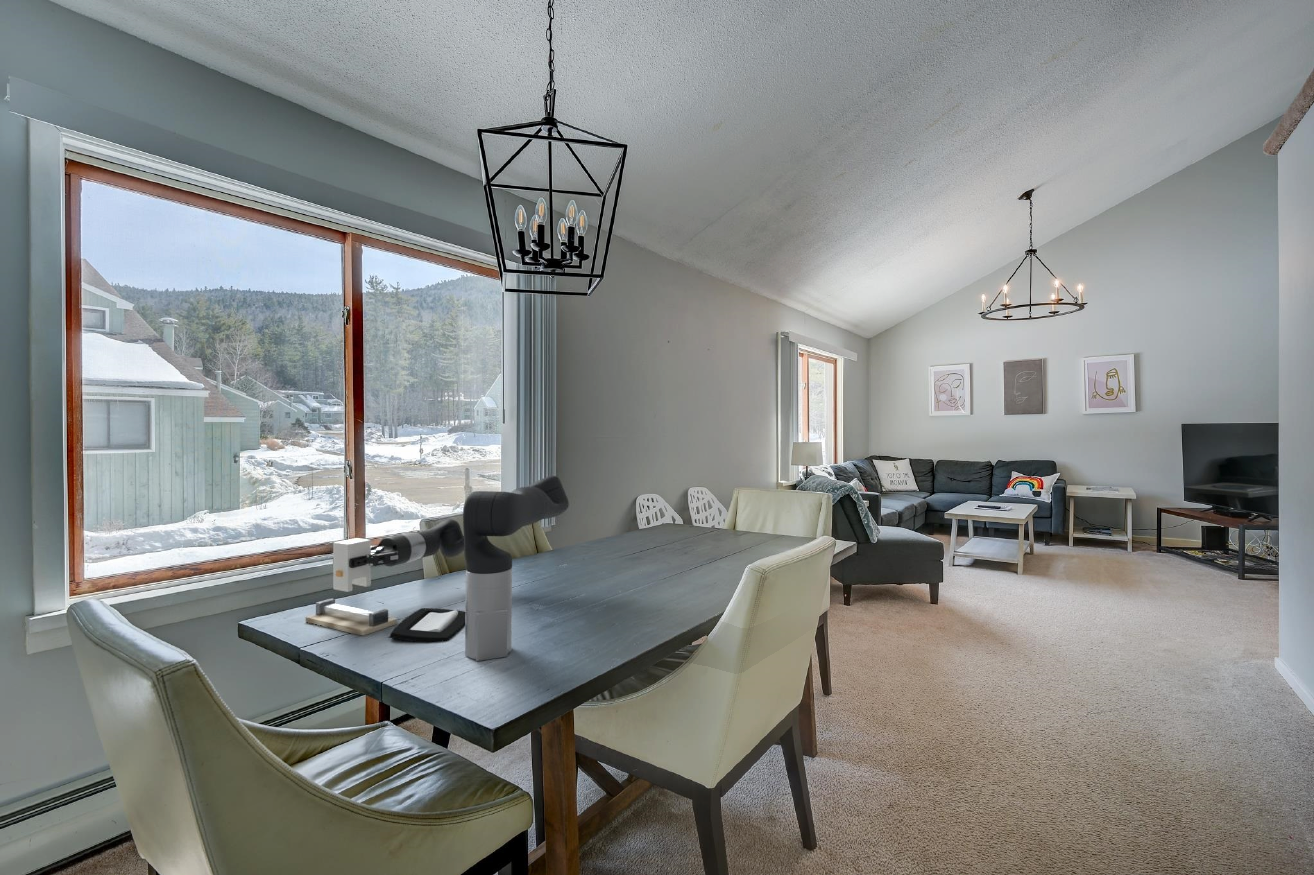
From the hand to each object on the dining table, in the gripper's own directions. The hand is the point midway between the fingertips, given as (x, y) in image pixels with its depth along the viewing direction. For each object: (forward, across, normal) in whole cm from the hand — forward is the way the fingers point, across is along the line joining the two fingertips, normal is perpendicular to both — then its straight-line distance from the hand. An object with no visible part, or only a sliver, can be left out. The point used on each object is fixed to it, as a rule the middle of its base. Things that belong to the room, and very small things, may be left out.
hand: (342, 562), depth 134 cm
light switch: (-9, -20, -16) cm, 26 cm away
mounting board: (-2, 0, -15) cm, 15 cm away
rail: (-2, 0, -14) cm, 14 cm away
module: (-3, 0, -6) cm, 7 cm away
